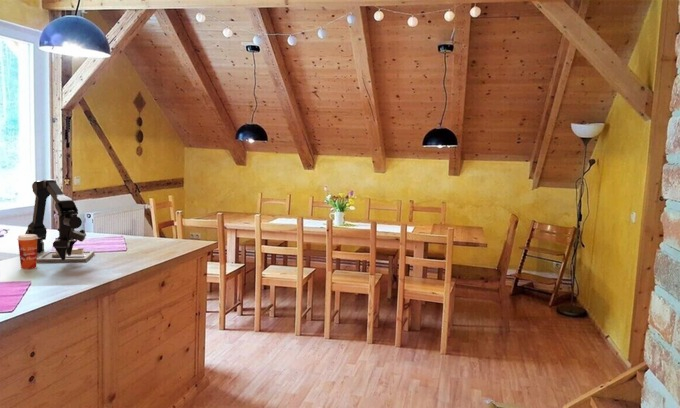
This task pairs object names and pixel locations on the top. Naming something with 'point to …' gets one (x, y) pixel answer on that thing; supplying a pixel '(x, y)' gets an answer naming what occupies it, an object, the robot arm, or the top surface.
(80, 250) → the long cream stick
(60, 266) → the top surface
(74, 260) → the board
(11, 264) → the top surface
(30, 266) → the coffee cup
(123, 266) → the top surface
